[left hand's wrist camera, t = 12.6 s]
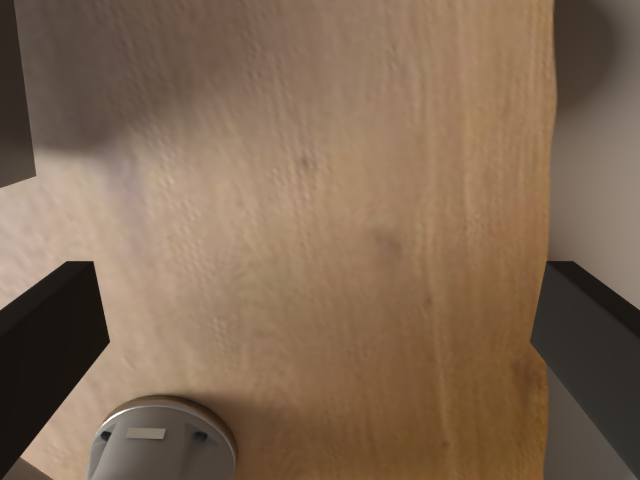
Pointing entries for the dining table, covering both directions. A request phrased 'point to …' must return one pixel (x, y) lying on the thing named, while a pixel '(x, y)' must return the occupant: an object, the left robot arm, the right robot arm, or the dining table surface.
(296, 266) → the dining table surface
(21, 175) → the bar
